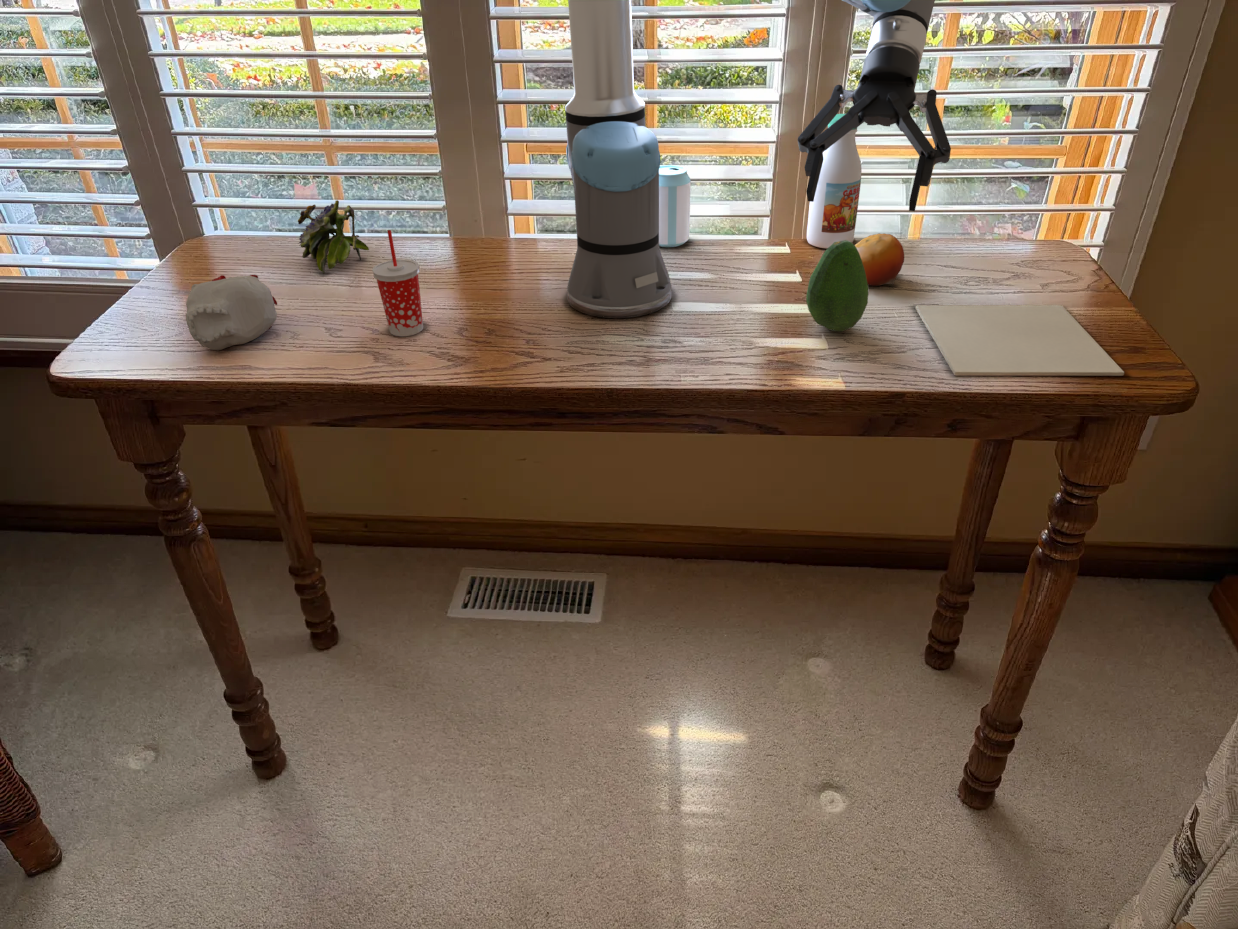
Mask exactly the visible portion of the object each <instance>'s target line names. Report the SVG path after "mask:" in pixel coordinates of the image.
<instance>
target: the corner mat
mask: <svg viewBox="0 0 1238 929" xmlns="http://www.w3.org/2000/svg"><path fill="white" fill-rule="evenodd" d="M915 310H916V312H917V314H918V316H919V317H920V319H921V320H922V322H923V324H924V326H925V328H926V329H927V331H928V333H929V335H930V336H931V338H932V339H933V341H934V343H935V345H936V346H937V348H938V350H939V352H940V353H941V355H942V357H943V358H944V360H945V362H946V364H947V365H948V367H949V369H950V370H951V372H952V374H953V375H954V376H957V377H959V376H960V377H961V376H964V377H965V376H967V377H968V376H970V377H971V376H975V377H976V376H977V377H978V376H980V377H983V376H985V377H986V376H987V377H991V376H993V377H994V376H996V377H997V376H999V377H1000V376H1002V377H1003V376H1004V377H1005V376H1006V377H1007V376H1009V377H1010V376H1011V377H1012V376H1014V377H1015V376H1017V377H1018V376H1019V377H1021V376H1024V377H1025V376H1026V377H1027V376H1028V377H1029V376H1031V377H1034V376H1038V377H1043V376H1046V377H1047V376H1048V377H1050V376H1051V377H1055V376H1057V377H1058V376H1059V377H1062V376H1063V377H1071V376H1072V377H1088V376H1089V377H1094V376H1096V377H1100V376H1101V377H1108V376H1109V377H1122V376H1124V375H1125V371H1124V370H1123V369H1122V368H1121V367H1120V366H1119V365H1118V364H1117V362H1115V361H1114V359H1112V357H1111V356H1110V355H1109V354H1108V353H1107V352H1106V351H1105V350H1104V349H1103V348H1102V346H1101V345H1100V344H1099V343H1098V342H1097V341H1096V340H1095V339H1094V338H1093V337H1092V336H1091V335H1090V334H1089V332H1087V330H1086V329H1084V327H1083V326H1082V325H1081V323H1079V321H1077V320H1076V319H1075V318H1074V316H1073V315H1072V314H1071V313H1070V312H1069V311H1068V310H1067V309H1066V308H1065V307H1064V306H1063V304H917V305H915Z"/></svg>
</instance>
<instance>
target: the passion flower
mask: <svg viewBox="0 0 1238 929" xmlns="http://www.w3.org/2000/svg"><path fill="white" fill-rule="evenodd" d="M316 207H317V206H316V204H312V205H308V206H307V207H306V209H305V210H301V211H300V213H299V214H300V216H299V217H298V219H297V222H298V223H297V225H302V224H303V223H304V222H305V220H306V219H308V220H310V222H309V224H307V225H305V228H304V229H305V230H303V231H302V233H300V234H299V237H298V238H299V242H297V245H298V244H299V245H298V246H300V247H301V248H304V250H303V251H302V256H301V258H302V259H306V258H308V257H309V256H310V257H311V258H312V259H314V260H316V266H317V269H318V271H319V272H322V274H323V275H324V274H325V272H326V271H325V267H326V266H327V269H328V270H330V271H331V270H333V269H334V268H335V267H336V266H337V265H338V264H339V265H342V264H344V262H346V260H347V259H348V258H349V256H350V253H351V247H352V249H353V251H355V252H356V254H357V256H358V258H359V260H360V261H362V257H361V253H360V250H363V251H369V250H370V248H369V247H368V245H367V244H366V243H365V242H363V241H362V240H361V239H359V237H360V235H358V234H355V233H356V229H355V228H356V227H355V216H356V215H355V209H353V208H352V206H351V205H347V206H346V207H345V209H343V212H344V213H339V208H340V201H339V200H338V199H337V200H335V201H334V203H331V204H330V205H326V206H325V207H324V209H323V210H321V212H320V213H319V214H317V215H315V216H314V217H312V216H311V214H312V213H313V211H315V209H316ZM350 217H351V229H352V230H351V232H352V233H351V236H350V235H345V234H344V227H345V221H349V220H350ZM335 227H336V228H335ZM330 235H331V236H330ZM326 263H327V264H326Z"/></svg>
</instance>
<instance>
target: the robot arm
mask: <svg viewBox="0 0 1238 929" xmlns="http://www.w3.org/2000/svg"><path fill="white" fill-rule="evenodd" d="M842 2H844V3H846V4H849V5H851V6H852V7H854V8H857V9H859V11H861V12H862V13H865V14H867V15H869V16H872V17H873V22H872V27H871V32H870V35H869V39H868V44H867V48H866V52H865V58H864V61H863V65H862V69H861V74H860V77H859V81H858V84H857V87H856V89H854V90H849V89H844V87H843V85H842V84H836V85H835V86H834V87H833V89H832V92H831V95H830V98H829V99H828V101H827V102H826V103H825V104H824V105H823V107H821V109H820V110H819V111H818V112H817V114H816V115H815V116H814V117H813V119H812V120H811V121H810V122H809V123H808V125H807V126H806V127H805V128H804V130H803V131H802V132H801V133H800V134H799V136H798V137H797V145H798V151H799V152H801V153H806V154H807V155H806V158H805V159H806V160H805V163H804V172H805V177H809V178H808V181H807V182H808V183H807V185H806V186H807V187H806V191H805V193H806V198H807V202H809V203H810V202H813V201H814V197H815V193H816V188H817V184H818V180H819V176H820V172H821V168H822V163H823V152H824V151H825V150H827V149H828V148H829V147H830V146H832V145H833V144H834V143H835V142H837V141H838V140H839V139H840V138H842V137H843V136H844V135H846V134H847V133H848V132H849V131H851V130H852V129H853V128H857V129H858V128H859V127H860V126H861V125H862V124H864V123H865V124H866V125H867V126H878V125H879V126H881V127H882V126H883V127H889V128H890V127H891V126H892V125H894V124H895V126H897V128H898V129H899V131H900V132H902V133H903V135H904V136H905V138H907V140H908V142H909V143H910V144H911V146H912V147H913V149H914V150H915V151H916V154H918V156H919V157H918V161H917V165H916V169H915V174H914V179H913V184H912V188H911V194H910V196H909V201H908V202H909V203H908V211H909V212H915V211H916V207H917V203H918V198H919V195H920V190H921V187H929V186H930V184H931V180H932V176H933V170H934V166H936V165H937V164H938V163H942V164H947V163H949V161H950V159H951V150H952V147H951V144H950V141H949V139H948V136H947V133H946V130H945V127H944V125H943V122H942V118H941V116H940V113H939V109H938V107H937V94H938V93H937V90H936V89H929V90H928V91H927V93H921V94H920V93H919V94H916V91H915V90H916V85H917V80H918V77H919V72H920V68H921V66H920V64H921V62H922V58H923V55H924V50H925V45H926V41H927V39H928V38H927V37H928V30H929V27H930V22H931V18H932V14H933V10H934V7H935V2H936V0H842ZM567 4H568V5H567V6H568V19H569V34H570V48H571V49H570V50H571V62H572V63H571V64H572V76H573V78H572V79H573V90H574V91H573V92H574V93H573V96H572V98H570V100H569V101H568V102H567V104H565V106H564V113H565V125H566V126H565V127H566V137H567V138H566V139H567V140H566V142H567V144H566V147H565V155H566V162H567V166H568V170H569V171H570V175H571V181H572V186H573V194H574V208H575V210H574V211H575V224H576V225H575V228H576V229H575V230H576V252H575V256H574V259H573V262H572V265H571V266H572V267H571V270H570V273H569V278H568V281H567V286H566V295H567V302H568V304H569V306H571V307H572V308H573V309H575V310H576V311H578V312H580V313H583V314H585V315H589V316H592V317H597V318H607V319H628V318H636V317H641V316H646V315H648V314H649V315H650V314H652V313H653V314H654V313H655V312H657V311H659V310H662V309H663V308H665V307H666V306H667V305H668V304H669V303H670V301H671V300H672V282H671V278H670V274H669V273H668V269H667V267H666V264H665V259H664V256H663V254H662V251H661V248H660V246H659V168H660V166H661V163H662V162H661V161H662V159H661V152H660V146H659V140H658V137H657V136H656V134H655V133H654V132H653V131H652V130H651V129H649V128H647V127H646V102H645V101H644V100H643V99H642V98H641V97H640V96H638V94H637V93H636V92H635V84H634V83H635V81H634V53H633V50H634V49H633V22H632V21H633V20H632V0H567ZM850 102H852V106H851V107H850V108H849V109H848V111H847V112H846V113H844V114H845V115H844V116H842V117H841V118H840V119H839V120H837V121H836V122H835V123H834V124H832V125H831V126H830V127H829V128H828V124H829V123H830V122H831V121H832V119H833V118H834V117H835V116H836V115H837V114H839V112H840V109H843V108H845V106H846V105H847V104H848V103H850ZM915 106H918V107H919V110H920V112H922V113H923V114H925V120H926V123H927V126H928V130H929V132H930V135H931V138H932V141H933V144H934V147H933V145H932V143H930V141H929V140H928V138H927V137H926V135H925V134H924V133H923V131H922V129H921V128H920V126H919V125H918V124H917V122H916V121H915V120H914V118H913V117H912V114H911V112H910V111H911V110H912V109H913V108H914V107H915Z"/></svg>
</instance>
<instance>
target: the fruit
mask: <svg viewBox="0 0 1238 929" xmlns="http://www.w3.org/2000/svg"><path fill="white" fill-rule="evenodd" d="M854 246H855V247H856V248H857V250H858V252H859V254H860V257H861V260H862V263H863V266H864V269H865V273H866V278H867V283H868V286H870V287H878V286H879V287H880V286H883V285H894V283H895V280H896V279H897V277H898V275H899V274H900V272H901V270H902V268H903V265H904V263H905V250H904V247H903V245H902V243H901V241H900V240H899V239H898V238H897V237H896V236H894V235H893V234H890V233H875V234H870V235H868V236H866V237H864V238H862V239H861V240H859V241H858V242H856V244H854Z"/></svg>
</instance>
